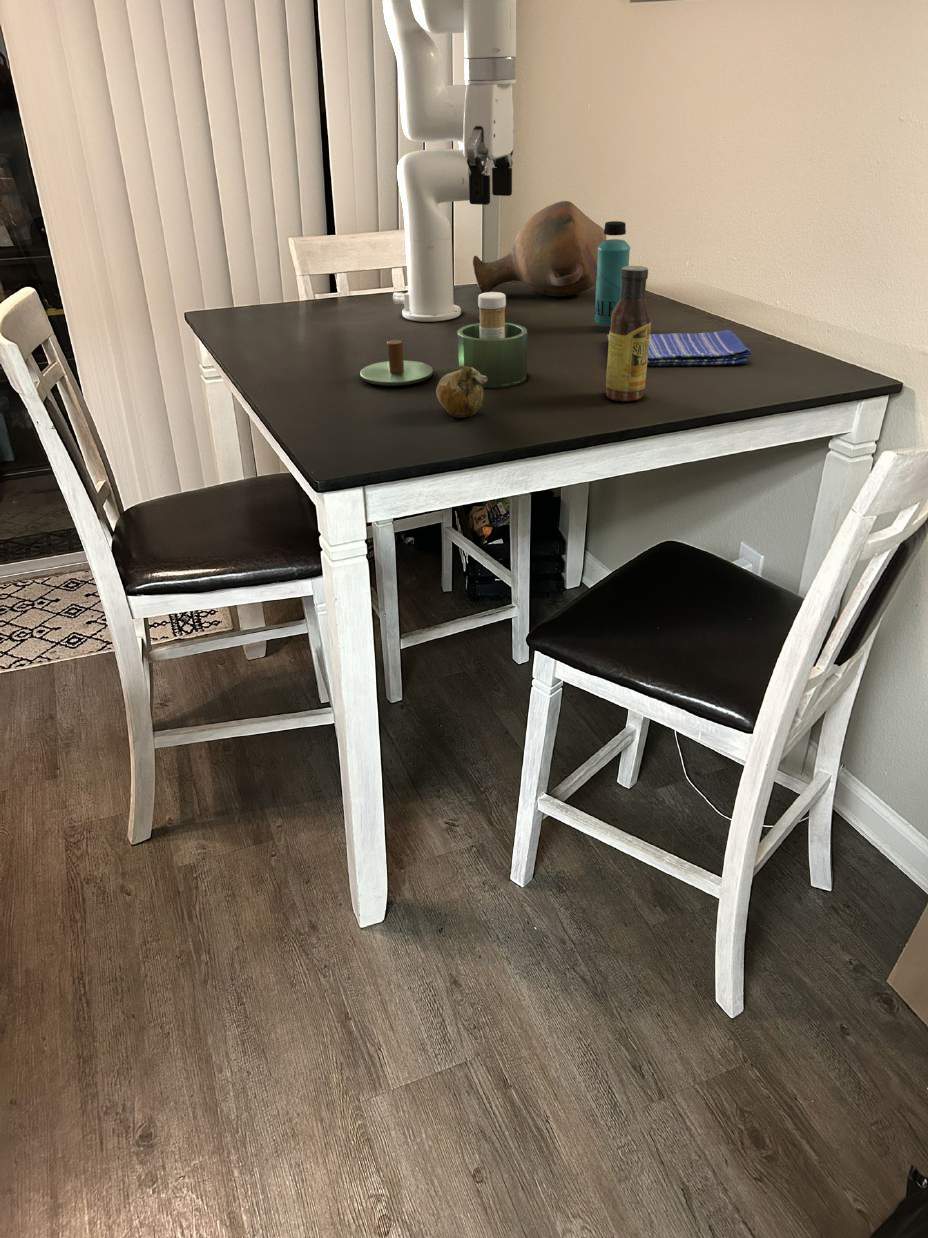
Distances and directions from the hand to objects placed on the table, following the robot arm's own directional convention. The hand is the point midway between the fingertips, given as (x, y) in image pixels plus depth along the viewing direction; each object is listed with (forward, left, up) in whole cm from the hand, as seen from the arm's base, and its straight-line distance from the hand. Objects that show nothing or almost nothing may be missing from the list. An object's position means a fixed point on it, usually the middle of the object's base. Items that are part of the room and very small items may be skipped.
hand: (491, 199), depth 144 cm
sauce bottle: (+24, -3, -28) cm, 37 cm away
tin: (0, 0, -28) cm, 28 cm away
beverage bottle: (+11, +37, -28) cm, 48 cm away
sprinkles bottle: (0, 0, -28) cm, 28 cm away
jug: (-12, +61, -28) cm, 68 cm away
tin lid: (-16, -5, -28) cm, 32 cm away
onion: (+2, -19, -28) cm, 34 cm away
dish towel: (+27, +24, -28) cm, 46 cm away
